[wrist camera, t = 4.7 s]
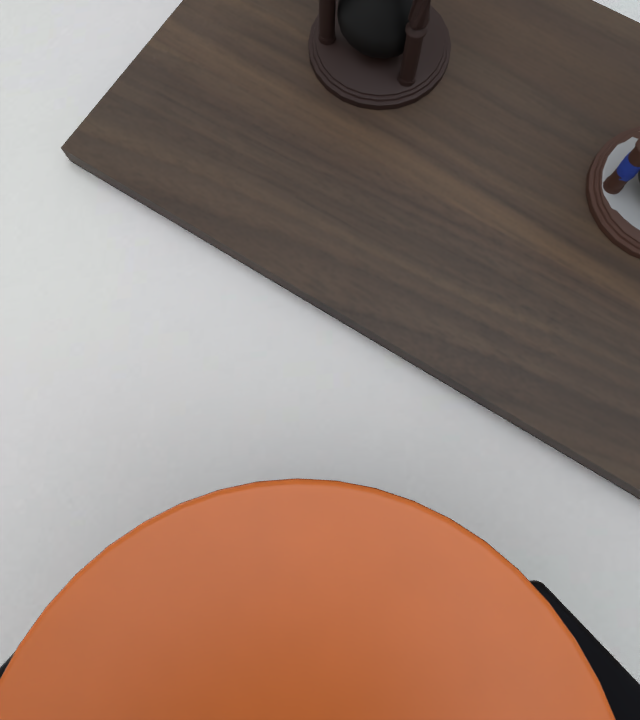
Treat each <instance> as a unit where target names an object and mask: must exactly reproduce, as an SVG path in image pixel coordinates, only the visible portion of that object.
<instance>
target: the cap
mask: <svg viewBox="0 0 640 720" xmlns="http://www.w3.org/2000/svg"><path fill="white" fill-rule="evenodd" d="M0 720H616V719H615V717H614V715H613V712H612V710H611V708H610V705H609V703H608V700H607V698H606V696H605V693H604V691H603V689H602V686H601V684H600V682H599V680H598V678H597V676H596V674H595V672H594V671H593V669H592V667H591V665H590V664H589V662H588V660H587V658H586V657H585V655H584V653H583V651H582V649H581V648H580V646H579V644H578V642H577V641H576V639H575V638H574V636H573V635H572V633H571V632H570V631H569V629H568V628H567V627H566V625H565V624H564V622H563V621H562V620H561V618H560V617H559V616H558V614H557V613H556V611H555V610H554V609H553V607H552V606H551V605H550V603H549V602H548V601H547V600H546V599H545V598H544V596H543V595H542V594H541V593H540V592H539V591H538V590H537V589H536V588H535V587H534V586H533V585H532V584H531V582H530V581H529V580H528V579H527V578H526V577H525V576H524V575H523V574H522V573H521V572H520V571H519V570H518V569H517V568H516V567H515V566H514V565H513V564H511V563H510V562H509V561H508V560H507V559H505V558H504V557H503V556H502V555H501V554H500V553H498V552H497V551H496V550H495V549H494V548H492V547H491V546H490V545H489V544H488V543H487V542H485V541H484V540H482V539H481V538H479V537H478V536H476V535H475V534H473V533H472V532H470V531H468V530H467V529H465V528H464V527H462V526H461V525H459V524H458V523H456V522H455V521H453V520H452V519H450V518H448V517H446V516H444V515H442V514H440V513H438V512H436V511H433V510H431V509H429V508H427V507H425V506H423V505H421V504H419V503H417V502H415V501H412V500H409V499H406V498H403V497H400V496H397V495H394V494H391V493H388V492H385V491H382V490H379V489H376V488H372V487H367V486H361V485H356V484H351V483H346V482H340V481H332V480H314V479H284V480H272V481H259V482H253V483H249V484H244V485H239V486H234V487H230V488H225V489H220V490H217V491H214V492H211V493H208V494H206V495H203V496H200V497H197V498H194V499H191V500H189V501H186V502H183V503H180V504H178V505H176V506H174V507H172V508H170V509H168V510H166V511H164V512H162V513H160V514H159V515H157V516H155V517H153V518H151V519H149V520H147V521H145V522H143V523H141V524H140V525H139V526H137V527H136V528H134V529H133V530H131V531H130V532H128V533H127V534H125V535H124V536H122V537H121V538H119V539H118V540H116V541H115V542H113V543H112V544H110V545H109V546H108V547H107V548H105V549H104V550H103V551H102V552H101V553H100V554H99V555H97V556H96V557H95V558H94V559H93V560H92V561H90V562H89V563H88V564H87V565H86V566H85V567H84V568H82V569H81V570H80V571H79V572H78V573H77V574H76V575H75V576H74V577H73V578H72V579H71V580H70V581H69V582H68V583H67V585H66V586H65V587H64V588H63V589H62V590H61V591H60V592H59V593H58V595H57V596H56V597H55V598H54V599H53V600H52V601H51V602H50V603H49V604H48V606H47V607H46V608H45V609H44V611H43V612H42V613H41V615H40V616H39V618H38V619H37V620H36V622H35V623H34V625H33V626H32V627H31V629H30V630H29V632H28V633H27V634H26V636H25V637H24V639H23V640H22V641H21V643H20V644H19V646H18V648H17V649H16V651H15V653H14V655H13V657H12V658H11V660H10V662H9V664H8V666H7V667H6V669H5V671H4V673H3V675H2V677H1V678H0Z"/></svg>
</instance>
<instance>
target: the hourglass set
mask: <svg viewBox="0 0 640 720" xmlns="http://www.w3.org/2000/svg"><path fill="white" fill-rule="evenodd" d="M61 149H62V150H63V151H64V153H65V154H66V156H67V157H68V158H69V160H70V161H72V162H73V163H75V164H77V165H78V166H80V167H82V168H83V169H85V170H87V171H88V172H90V173H92V174H93V175H95V176H97V177H98V178H100V179H102V180H104V181H105V182H107V183H109V184H110V185H112V186H114V187H115V188H117V189H119V190H120V191H122V192H124V193H125V194H127V195H129V196H130V197H132V198H134V199H136V200H137V201H139V202H141V203H142V204H144V205H146V206H147V207H149V208H151V209H152V210H154V211H156V212H157V213H159V214H161V215H162V216H164V217H166V218H168V219H169V220H171V221H173V222H174V223H176V224H178V225H179V226H181V227H183V228H184V229H186V230H188V231H189V232H191V233H193V234H194V235H196V236H198V237H200V238H201V239H203V240H205V241H206V242H208V243H210V244H211V245H213V246H215V247H216V248H218V249H220V250H221V251H223V252H225V253H226V254H228V255H230V256H232V257H233V258H235V259H237V260H238V261H240V262H242V263H243V264H245V265H247V266H248V267H250V268H252V269H253V270H255V271H257V272H258V273H260V274H262V275H264V276H265V277H267V278H269V279H270V280H272V281H274V282H275V283H277V284H279V285H280V286H282V287H284V288H285V289H287V290H289V291H290V292H292V293H294V294H296V295H297V296H299V297H301V298H302V299H304V300H306V301H307V302H309V303H311V304H312V305H314V306H316V307H317V308H319V309H321V310H323V311H324V312H326V313H328V314H329V315H331V316H333V317H334V318H336V319H338V320H339V321H341V322H343V323H344V324H346V325H348V326H349V327H351V328H353V329H355V330H356V331H358V332H360V333H361V334H363V335H365V336H366V337H368V338H370V339H371V340H373V341H375V342H376V343H378V344H380V345H381V346H383V347H385V348H387V349H388V350H390V351H392V352H393V353H395V354H397V355H398V356H400V357H402V358H403V359H405V360H407V361H408V362H410V363H412V364H413V365H415V366H417V367H419V368H420V369H422V370H424V371H425V372H427V373H429V374H430V375H432V376H434V377H435V378H437V379H439V380H440V381H442V382H444V383H445V384H447V385H449V386H451V387H452V388H454V389H456V390H457V391H459V392H461V393H462V394H464V395H466V396H467V397H469V398H471V399H472V400H474V401H476V402H477V403H479V404H481V405H483V406H484V407H486V408H488V409H489V410H491V411H493V412H494V413H496V414H498V415H499V416H501V417H503V418H504V419H506V420H508V421H509V422H511V423H513V424H515V425H516V426H518V427H520V428H521V429H523V430H525V431H526V432H528V433H530V434H531V435H533V436H535V437H536V438H538V439H540V440H541V441H543V442H545V443H547V444H548V445H550V446H552V447H553V448H555V449H557V450H558V451H560V452H562V453H563V454H565V455H567V456H568V457H570V458H572V459H573V460H575V461H577V462H579V463H580V464H582V465H584V466H585V467H587V468H589V469H590V470H592V471H594V472H595V473H597V474H599V475H600V476H602V477H604V478H606V479H607V480H609V481H611V482H612V483H614V484H616V485H617V486H619V487H621V488H622V489H624V490H626V491H627V492H629V493H631V494H632V495H634V496H636V497H638V498H639V499H640V23H639V22H637V21H634V20H632V19H630V18H628V17H626V16H624V15H622V14H620V13H618V12H616V11H613V10H611V9H609V8H607V7H605V6H603V5H601V4H599V3H597V2H595V1H593V0H183V1H182V2H181V3H180V5H179V6H178V7H177V8H176V9H175V11H174V12H173V13H172V14H171V15H170V17H169V18H168V19H167V20H166V21H165V23H164V24H163V25H162V26H161V28H160V29H159V30H158V31H157V32H156V34H155V35H154V36H153V37H152V38H151V40H150V41H149V42H148V43H147V44H146V46H145V47H144V48H143V49H142V50H141V52H140V53H139V54H138V55H137V57H136V58H135V59H134V60H133V61H132V63H131V64H130V65H129V66H128V67H127V69H126V70H125V71H124V72H123V73H122V75H121V76H120V77H119V78H118V79H117V81H116V82H115V83H114V84H113V86H112V87H111V88H110V89H109V90H108V92H107V93H106V94H105V95H104V96H103V98H102V99H101V100H100V101H99V102H98V104H97V105H96V106H95V107H94V108H93V110H92V111H91V112H90V113H89V115H88V116H87V117H86V118H85V119H84V121H83V122H82V123H81V124H80V125H79V127H78V128H77V129H76V130H75V131H74V133H73V134H72V135H71V136H70V137H69V139H68V140H67V141H66V142H65V144H64V145H63V146H62V147H61Z"/></svg>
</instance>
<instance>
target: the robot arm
mask: <svg viewBox="0 0 640 720" xmlns="http://www.w3.org/2000/svg"><path fill="white" fill-rule="evenodd" d="M530 582H531V584H532V585H533V586H534V587H535V588H536V589H537V590H538V591H539V592H540V593H541V594H542V595H543V596H544V598H545V599H546V600H547V601H548V602H549V603H550V605H551V606H552V607H553V609H554V610H555V611H556V613H557V614H558V616H559V617H560V618H561V620H562V621H563V622H564V624H565V625H566V627H567V628H568V629H569V631H570V632H571V633H572V635H573V636H574V638H575V639H576V641H577V642H578V644H579V646H580V648H581V649H582V651H583V653H584V655H585V657H586V658H587V660H588V662H589V664H590V665H591V667H592V669H593V671H594V672H595V674H596V676H597V678H598V680H599V682H600V684H601V686H602V689H603V691H604V693H605V696H606V698H607V700H608V703H609V705H610V708H611V710H612V712H613V715H614V717H615V719H616V720H640V684H639V683H638V682H637V681H636V680H635V679H634V678H633V677H632V676H631V675H630V674H629V673H628V672H627V671H626V670H625V669H624V668H623V667H622V665H621V664H620V663H619V662H618V661H617V660H616V659H615V658H614V657H613V656H612V655H611V654H610V653H609V652H608V651H607V650H606V649H605V648H604V647H603V646H602V645H601V644H600V642H599V641H598V640H597V639H596V638H595V637H594V636H593V635H592V634H591V633H590V632H589V631H588V630H587V629H586V628H585V627H584V626H583V625H582V624H581V623H580V622H579V620H578V619H577V618H576V617H575V616H574V615H573V614H572V613H571V612H570V611H569V610H568V609H567V608H566V607H565V606H564V605H563V604H562V603H561V602H560V601H559V600H558V599H557V597H556V596H555V595H554V594H553V593H552V592H551V591H550V590H549V589H548V588H547V587H546V586H545V585H544V584H543V583H541V582H539V581H535V580H533V581H530ZM14 653H15V652H14ZM14 653H13V654H12V655H11V657H10V658H9V659H8V660H7V661H6V662H5V663H4V664H3V665H2V666H1V667H0V678H1V677H2V675H3V673H4V671H5V669H6V667H7V666H8V664H9V662H10V660H11V658H12V657H13V655H14Z"/></svg>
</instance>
